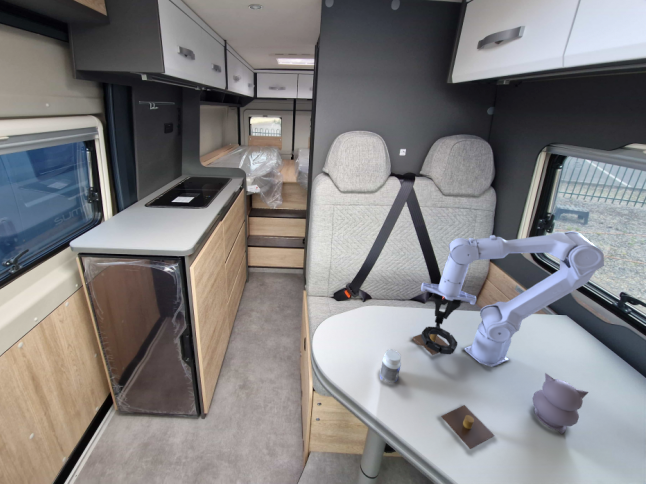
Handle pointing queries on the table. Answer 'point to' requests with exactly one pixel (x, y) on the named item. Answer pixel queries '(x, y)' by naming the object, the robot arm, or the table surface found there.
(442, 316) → the hanger ring
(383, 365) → the pill bottle
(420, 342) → the tall peg stand
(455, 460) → the table surface
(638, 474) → the table surface
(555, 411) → the cat figurine
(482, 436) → the short peg stand
